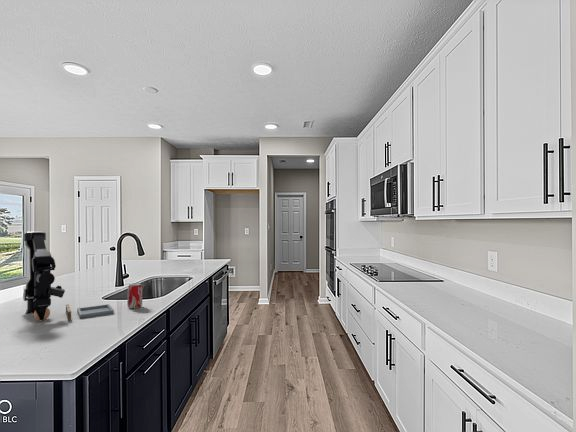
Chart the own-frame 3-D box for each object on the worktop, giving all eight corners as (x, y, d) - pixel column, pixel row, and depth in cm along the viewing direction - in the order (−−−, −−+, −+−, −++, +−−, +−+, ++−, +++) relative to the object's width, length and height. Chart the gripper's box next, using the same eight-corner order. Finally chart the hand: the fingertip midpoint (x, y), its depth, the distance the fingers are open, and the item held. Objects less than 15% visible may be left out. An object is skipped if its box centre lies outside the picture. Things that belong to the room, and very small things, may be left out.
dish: (77, 311, 166) (77, 308, 166) (109, 307, 174) (109, 304, 174) (79, 318, 155) (79, 314, 155) (113, 313, 163) (113, 310, 163)
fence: (65, 312, 164) (65, 304, 164) (68, 312, 165) (68, 304, 165) (67, 320, 151) (67, 312, 151) (71, 320, 152) (71, 311, 152)
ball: (33, 319, 153) (33, 306, 153) (49, 317, 156) (50, 304, 156) (33, 323, 148) (33, 309, 148) (50, 320, 152) (50, 307, 152)
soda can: (136, 309, 171) (136, 285, 171) (124, 308, 172) (124, 285, 173) (145, 306, 178) (145, 283, 178) (133, 305, 179) (133, 282, 179)
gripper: (64, 284, 150) (64, 319, 149) (62, 278, 165) (62, 310, 165) (33, 287, 143) (32, 323, 143) (34, 280, 158) (33, 313, 158)
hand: (42, 317), depth 152 cm, fingers open, 9 cm apart
